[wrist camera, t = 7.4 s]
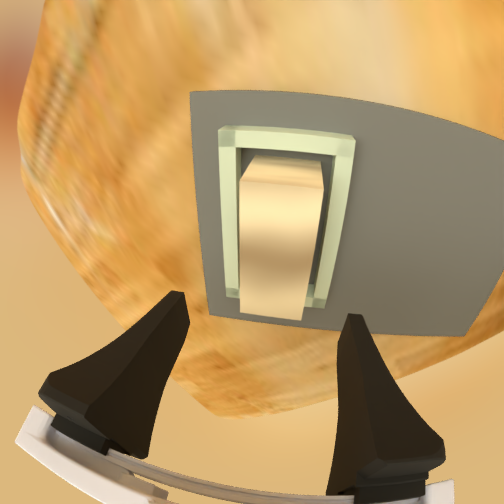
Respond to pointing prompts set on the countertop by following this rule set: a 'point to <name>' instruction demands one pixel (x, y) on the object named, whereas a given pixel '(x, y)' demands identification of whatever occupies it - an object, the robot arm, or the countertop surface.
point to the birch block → (278, 234)
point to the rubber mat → (373, 210)
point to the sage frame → (341, 170)
